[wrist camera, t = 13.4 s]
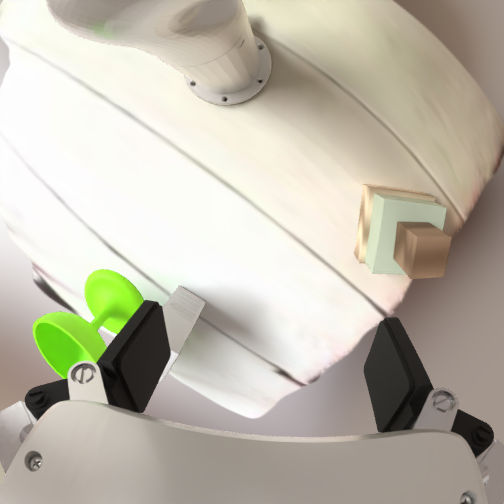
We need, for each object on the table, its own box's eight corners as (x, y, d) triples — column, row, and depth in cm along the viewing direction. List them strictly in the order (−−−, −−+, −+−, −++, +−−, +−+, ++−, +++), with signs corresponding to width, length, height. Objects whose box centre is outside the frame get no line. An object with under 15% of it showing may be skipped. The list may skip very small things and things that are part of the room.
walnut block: (397, 221, 30) (417, 237, 25) (428, 222, 30) (451, 237, 24) (392, 258, 32) (410, 278, 27) (423, 257, 32) (443, 276, 26)
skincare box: (189, 329, 50) (162, 385, 36) (162, 312, 49) (128, 365, 35) (207, 299, 47) (181, 357, 33) (178, 281, 46) (141, 333, 32)
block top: (374, 193, 33) (384, 198, 30) (433, 201, 32) (446, 207, 29) (364, 261, 37) (372, 273, 33) (420, 264, 36) (431, 275, 32)
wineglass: (79, 263, 47) (21, 308, 31) (143, 276, 46) (88, 335, 30) (93, 325, 54) (51, 375, 37) (152, 342, 52) (115, 404, 36)
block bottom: (362, 183, 37) (370, 187, 33) (423, 192, 36) (435, 197, 32) (353, 252, 41) (359, 263, 37) (411, 256, 40) (421, 266, 36)
